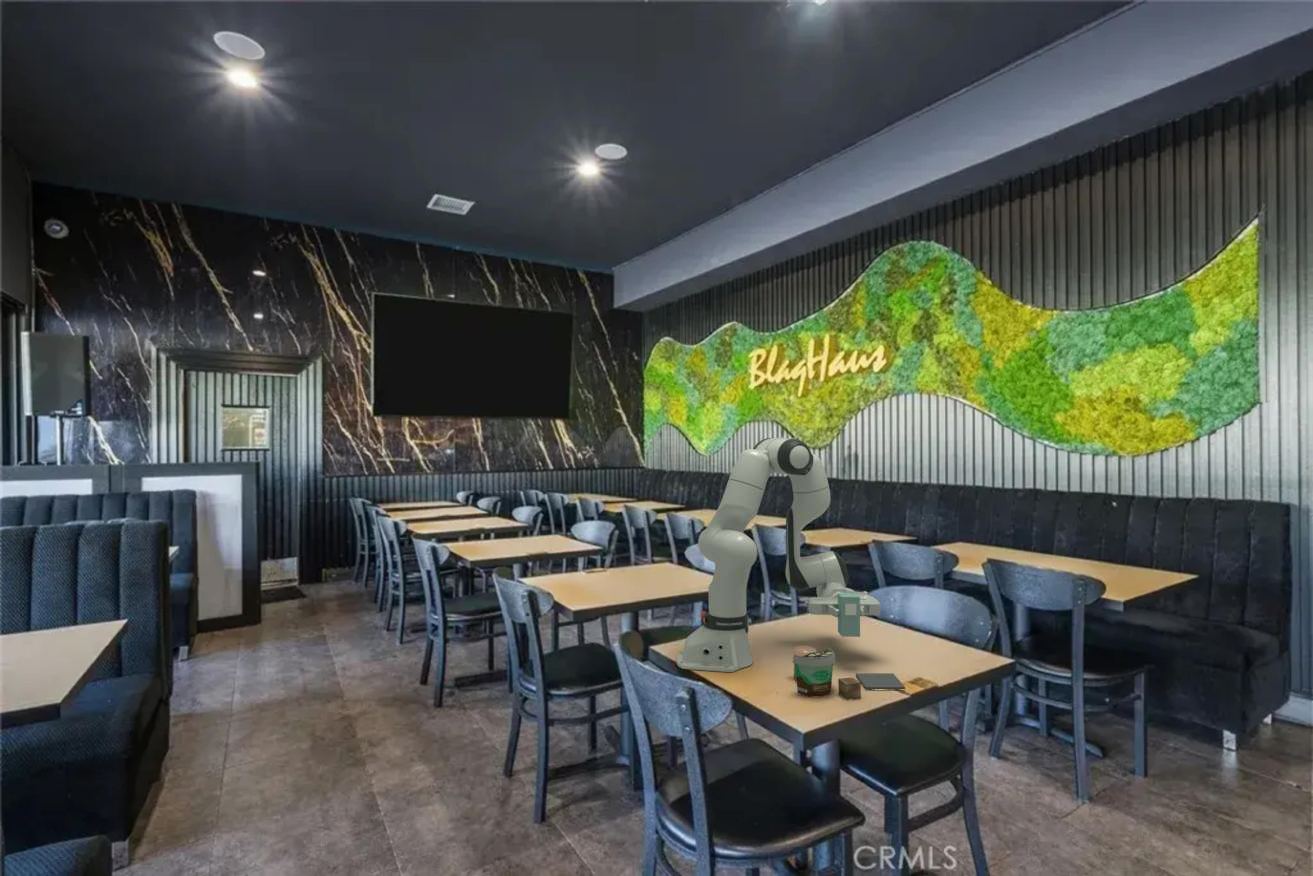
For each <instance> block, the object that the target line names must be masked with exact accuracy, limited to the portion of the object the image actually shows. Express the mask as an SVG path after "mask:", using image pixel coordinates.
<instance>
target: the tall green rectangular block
mask: <svg viewBox="0 0 1313 876" xmlns="http://www.w3.org/2000/svg"><path fill="white" fill-rule="evenodd" d="M838 609H840V616H838V617H837V632H838V633H839V635H840V636H841V637H842V638H843V637H844V638H845V637H849V638H850V637H851V638H852V637H854V638H857V637H858V638H860V637H861V616H860V597H859V596H858V595H857V594H856V593H838Z"/></svg>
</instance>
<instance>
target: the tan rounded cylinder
mask: <svg viewBox="0 0 1313 876" xmlns="http://www.w3.org/2000/svg"><path fill="white" fill-rule="evenodd" d="M810 653H817V649H816V648H815V647H813V646H808V645H800V646H795V647H793V655H794V654H795V655H798V656H805V655H807V654H810ZM793 679H794V680H795V682H797V680H796V671H795V663H793Z"/></svg>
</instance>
